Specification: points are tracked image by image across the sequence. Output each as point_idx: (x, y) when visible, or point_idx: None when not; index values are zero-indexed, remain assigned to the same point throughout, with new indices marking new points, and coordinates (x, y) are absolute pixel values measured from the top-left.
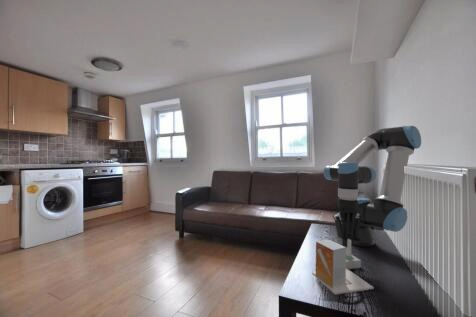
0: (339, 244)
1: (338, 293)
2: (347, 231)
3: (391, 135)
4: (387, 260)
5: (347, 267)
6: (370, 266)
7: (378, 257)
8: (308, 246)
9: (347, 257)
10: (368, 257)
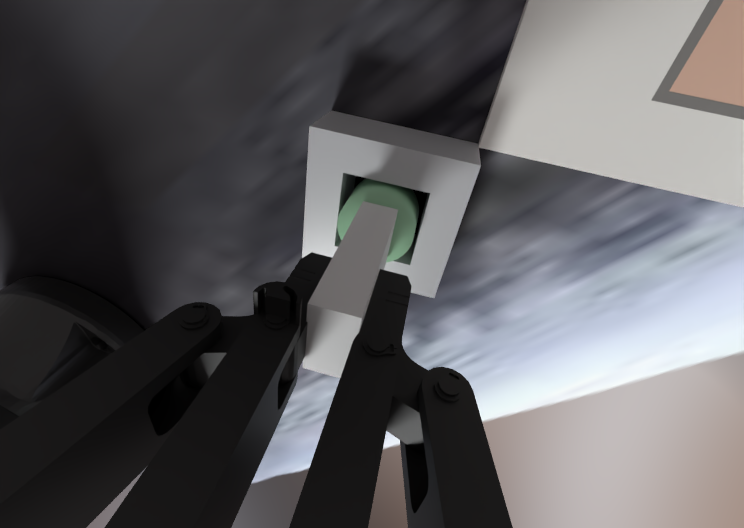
0: None
1: None
2: (327, 468)
3: None
4: (40, 103)
5: (465, 144)
6: (236, 91)
7: (82, 164)
8: None
9: (405, 206)
10: (153, 194)
